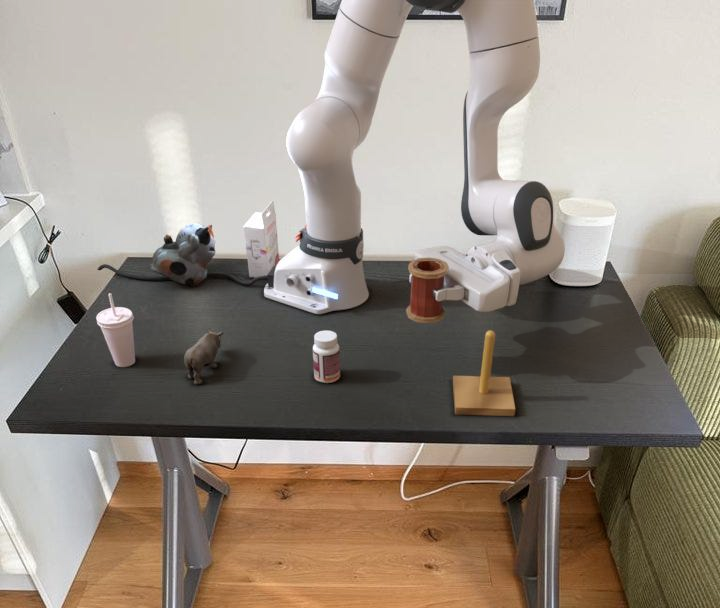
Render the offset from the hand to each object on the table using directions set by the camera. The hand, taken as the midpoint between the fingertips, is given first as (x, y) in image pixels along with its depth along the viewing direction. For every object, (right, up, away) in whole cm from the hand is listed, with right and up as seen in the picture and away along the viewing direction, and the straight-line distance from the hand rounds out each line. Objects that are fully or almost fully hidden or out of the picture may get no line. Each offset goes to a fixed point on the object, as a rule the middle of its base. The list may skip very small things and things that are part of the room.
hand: (423, 287), depth 130 cm
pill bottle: (-17, -14, +8) cm, 23 cm away
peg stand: (+11, -19, +2) cm, 22 cm away
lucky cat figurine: (-50, +13, +41) cm, 66 cm away
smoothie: (-55, -11, +12) cm, 57 cm away
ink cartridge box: (-33, +15, +42) cm, 55 cm away
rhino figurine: (-39, -12, +11) cm, 42 cm away
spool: (+1, -4, +4) cm, 5 cm away
